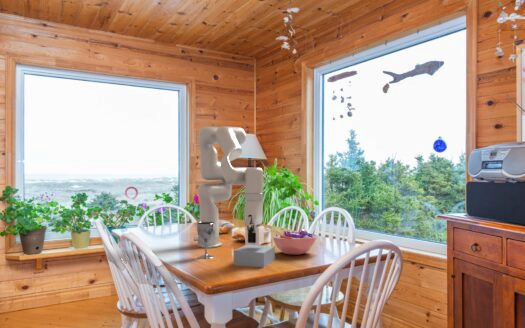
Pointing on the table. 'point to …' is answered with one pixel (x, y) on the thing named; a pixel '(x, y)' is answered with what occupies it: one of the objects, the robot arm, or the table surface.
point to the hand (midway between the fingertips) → (254, 240)
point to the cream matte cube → (259, 235)
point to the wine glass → (205, 235)
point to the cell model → (294, 242)
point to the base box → (254, 255)
